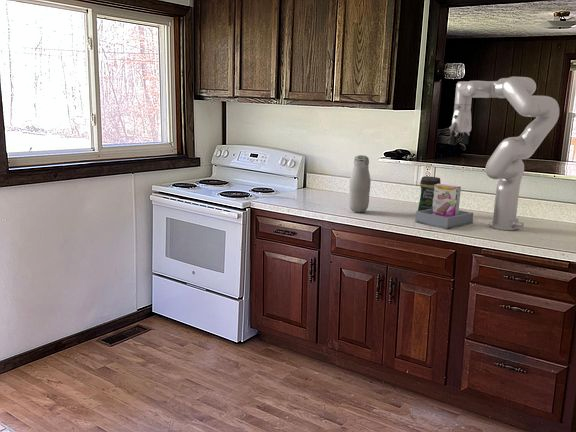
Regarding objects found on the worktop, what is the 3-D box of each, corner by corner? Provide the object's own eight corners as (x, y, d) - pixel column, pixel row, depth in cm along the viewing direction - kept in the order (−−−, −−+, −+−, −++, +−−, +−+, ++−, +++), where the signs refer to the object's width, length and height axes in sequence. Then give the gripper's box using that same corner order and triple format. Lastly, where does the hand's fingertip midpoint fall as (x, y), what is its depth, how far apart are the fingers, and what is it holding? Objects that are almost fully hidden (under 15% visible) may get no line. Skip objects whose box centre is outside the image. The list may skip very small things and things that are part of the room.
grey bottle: (346, 213, 270) (349, 155, 264) (350, 209, 279) (353, 153, 273) (366, 214, 267) (369, 156, 261) (370, 210, 276) (373, 154, 270)
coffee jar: (416, 214, 270) (418, 176, 266) (419, 211, 277) (422, 174, 273) (436, 216, 266) (439, 178, 262) (439, 213, 273) (442, 176, 269)
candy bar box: (430, 219, 254) (433, 184, 251) (434, 218, 258) (437, 183, 255) (454, 223, 248) (457, 187, 244) (458, 221, 252) (461, 186, 248)
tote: (472, 223, 253) (473, 212, 252) (447, 229, 241) (448, 218, 240) (440, 216, 266) (441, 206, 265) (415, 222, 253) (416, 211, 252)
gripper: (459, 108, 254) (455, 145, 258) (479, 108, 265) (476, 144, 269) (445, 107, 260) (442, 144, 263) (465, 107, 271) (462, 143, 274)
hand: (459, 144), depth 266 cm, fingers open, 9 cm apart
